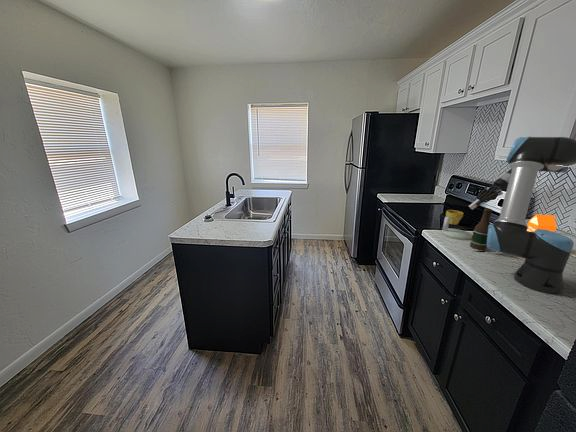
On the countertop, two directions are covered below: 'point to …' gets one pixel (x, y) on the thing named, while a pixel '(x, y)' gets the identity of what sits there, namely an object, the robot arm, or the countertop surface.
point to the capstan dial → (454, 231)
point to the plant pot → (454, 216)
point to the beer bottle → (481, 232)
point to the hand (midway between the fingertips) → (470, 207)
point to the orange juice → (542, 223)
